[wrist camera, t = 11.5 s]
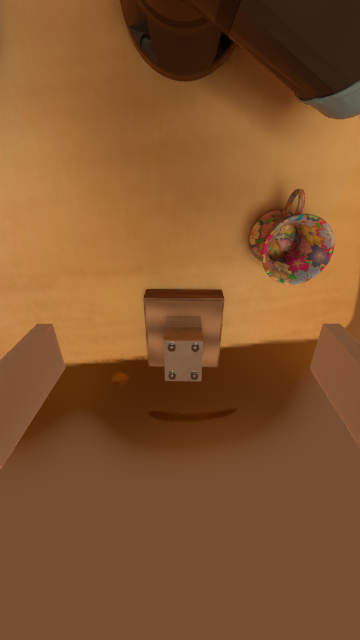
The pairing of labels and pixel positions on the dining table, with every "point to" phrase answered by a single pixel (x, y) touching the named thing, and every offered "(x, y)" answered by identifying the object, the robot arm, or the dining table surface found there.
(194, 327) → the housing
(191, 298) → the stand
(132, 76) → the dining table surface
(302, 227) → the mug
